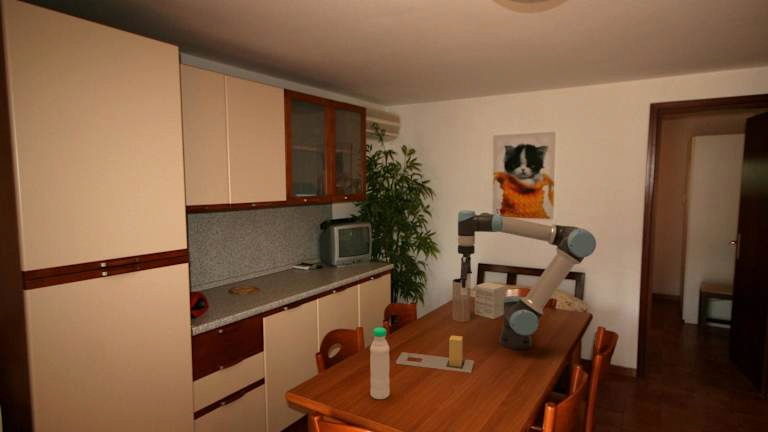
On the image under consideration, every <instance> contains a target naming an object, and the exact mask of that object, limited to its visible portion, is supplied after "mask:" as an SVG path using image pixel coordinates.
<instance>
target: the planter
mask: <svg viewBox="0 0 768 432" xmlns="http://www.w3.org/2000/svg"><path fill="white" fill-rule="evenodd" d="M451 305H452V311H451V313H452V316H451V317H452V320H453V321H455V322H457V323H467V322H468V323H469V321H471V286H470V288H467V295H461V280H459V278H453V280H452V304H451Z"/></svg>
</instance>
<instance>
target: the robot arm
mask: <svg viewBox="0 0 768 432" xmlns="http://www.w3.org/2000/svg"><path fill="white" fill-rule="evenodd" d="M457 215H458V216H457V237H456V240H457V244H458V245H457V253H458V254H459V255H462V257H461V259H460V277H459V278H458V279H459V280H461V295H467V288H470V289H471V287H470V286H471V283H472V281H471V280H472V279H471V278H472V277H471V274H473V271H472V266H471V264H472V263H471V260H472V257H471V255H473V254H475V253H476V251H475V249H476V248H475V244H476V232H477V233H479V232H480V233H481V232H484V233H503V234H509V235H514V236H519V237H523V238H528V239H532V240H538V241H543V242H547V243H548V244H549V245H551V246H555V247H556V249H555V250H556V254H555V256H554V257H553V258H552V259H551V261H550V263H548V265H547V267H545V269H544V271H543V272H542V274H541V275H540V276H539V278H538V279H537V280H536V282H535V284H534V285H532V288H531V289H530V290H529V292H528V293H527V295H526V296H518V295H506V297H505V298H504V302H503V304H504V315H503V327H502V330H501V333H500V334H499V339H498V340H499V342H498V344H500V345H501V346H503V347H505V348H507V349H512V350H527V349H529V348H530V349H531V348H532V346H533V339H532V336H531V335H532V334H534V333H535V332H536V331H537V330H538V328H539V324H540V321H539V320H541V318H542V317H543V316H544V311H543V309H544V307H545V306H546V305H547V303H548V301H549V300H550V299H551V298H552V296H553V295H554V294H555V292H556V291H557V289H558V288H559V287H560V285H561V284H562V283H563V281H564V280H565V279H566V277H567V276H568V274H569V273H570V272H571V270H572V269H573V268H574V266H576V265H580V264H581V263H582V262H583V261H584V259H585V258H587V257H589V256H591V255H592V254H593V253H594V252H595V250H596V249H597V248H596V247H597V240H596V238H595V236H594V235H593V233H591V232H590V231H589V230H587V229H584V228H580V227H577V226H574V225H573V226H571V225H561V224H560V225H559V224H552V225H548V224H543V223H537V222H532V221H528V220H524V219H517V218H513V217H507V216H503V215H499V214H492V213H489V212H481V213H480V214H476V212H475V211H474V210H469V209H468V210H459V211H458V213H457Z"/></svg>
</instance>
